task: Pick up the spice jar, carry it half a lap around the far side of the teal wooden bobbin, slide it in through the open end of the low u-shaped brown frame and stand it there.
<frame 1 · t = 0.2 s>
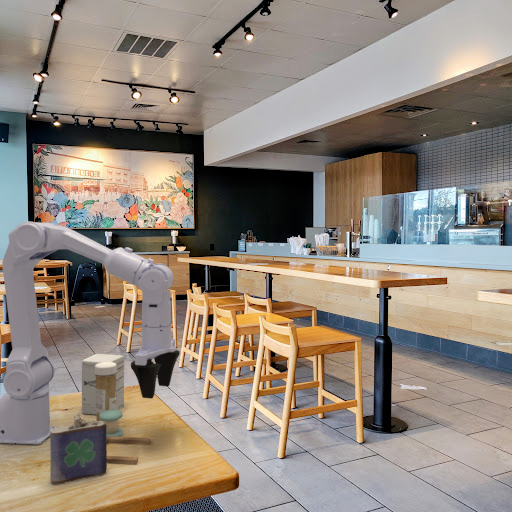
hand: (156, 391, 100), 10 cm above the table, tool pointing down, fingers open, 7 cm apart
u-shaped brown frame: (119, 451, 96), on the table
flask: (79, 477, 86), on the table
supplement box: (103, 411, 117), on the table
bobbin: (111, 434, 103), on the table
spice jar: (106, 425, 109), on the table
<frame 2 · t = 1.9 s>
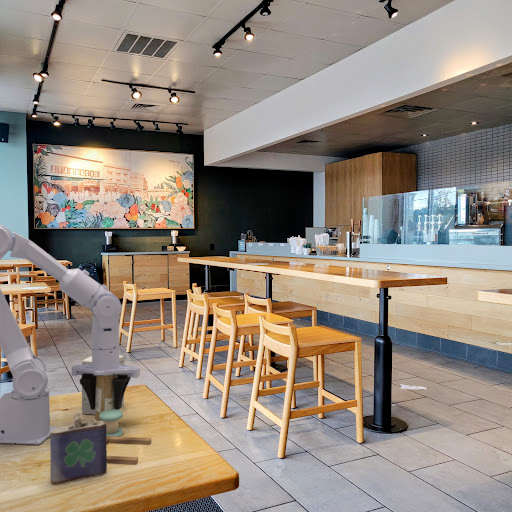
hand: (106, 408, 108), 4 cm above the table, tool pointing down, fingers open, 5 cm apart
spice jar: (104, 423, 109), on the table, touching gripper
everything else where it was.
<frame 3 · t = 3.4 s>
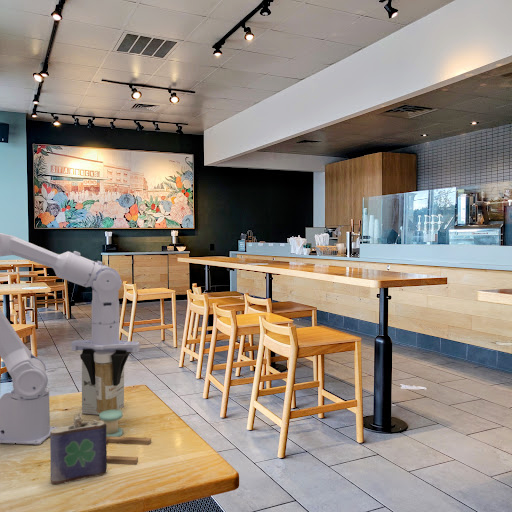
hand: (105, 384, 108), 9 cm above the table, tool pointing down, fingers closed on spice jar, 4 cm apart
spice jar: (106, 411, 109), point 3 cm above the table, touching gripper
everything else where it was.
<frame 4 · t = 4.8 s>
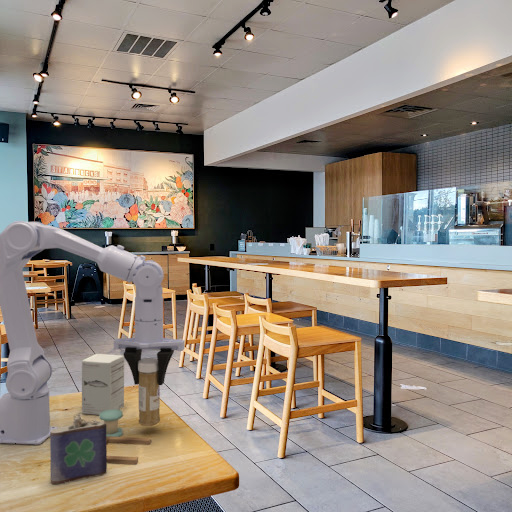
hand: (149, 383, 104), 10 cm above the table, tool pointing down, fingers closed on spice jar, 4 cm apart
spice jar: (149, 423, 105), point 2 cm above the table, touching gripper
everything else where it was.
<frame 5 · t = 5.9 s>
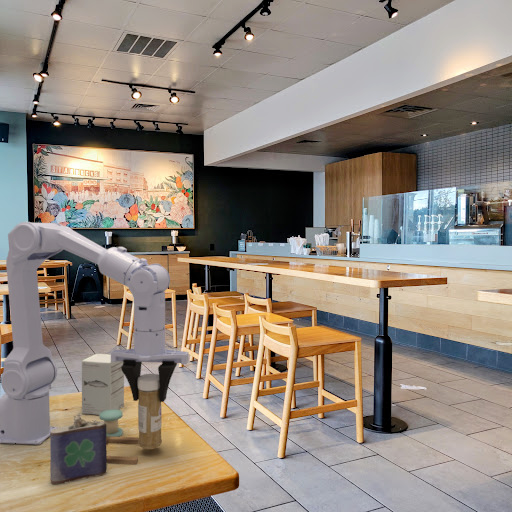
hand: (149, 399, 95), 10 cm above the table, tool pointing down, fingers closed on spice jar, 4 cm apart
spice jar: (150, 445, 96), point 1 cm above the table, touching gripper
everything else where it was.
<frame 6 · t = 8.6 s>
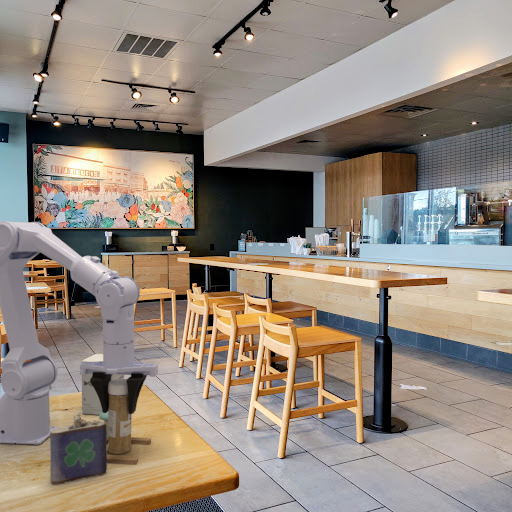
hand: (119, 411, 95), 8 cm above the table, tool pointing down, fingers closed on spice jar, 4 cm apart
spice jar: (119, 450, 96), on the table, touching gripper
everything else where it was.
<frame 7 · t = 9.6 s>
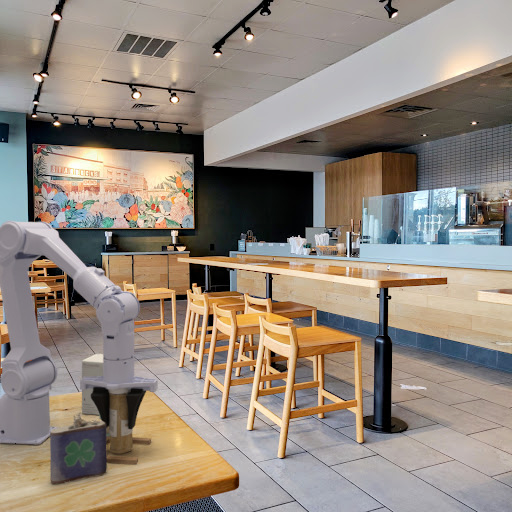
hand: (119, 426, 95), 5 cm above the table, tool pointing down, fingers closed on spice jar, 4 cm apart
spice jar: (121, 450, 96), on the table, touching gripper
everything else where it was.
when the fingers open (5 cm above the table, at t = 9.7 s): spice jar stays where it is, on the table.
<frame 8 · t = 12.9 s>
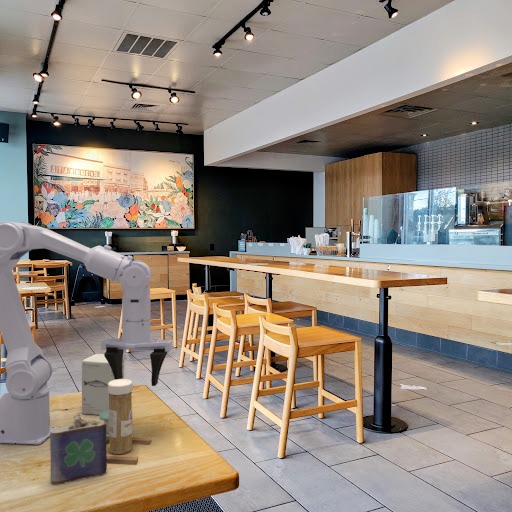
hand: (136, 383, 104), 10 cm above the table, tool pointing down, fingers open, 7 cm apart
spice jar: (120, 450, 96), on the table
everything else where it was.
at the end: spice jar 1.3 cm from the target spot on the u-shaped brown frame, point 0.0 cm above the u-shaped brown frame's base; spice jar tilted 0°; the gripper is holding nothing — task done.
